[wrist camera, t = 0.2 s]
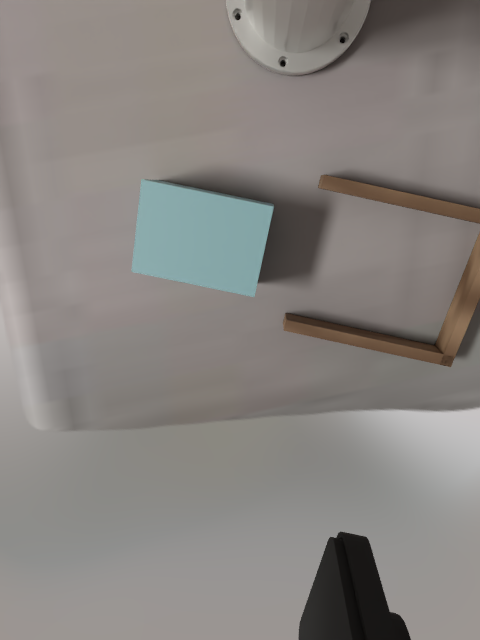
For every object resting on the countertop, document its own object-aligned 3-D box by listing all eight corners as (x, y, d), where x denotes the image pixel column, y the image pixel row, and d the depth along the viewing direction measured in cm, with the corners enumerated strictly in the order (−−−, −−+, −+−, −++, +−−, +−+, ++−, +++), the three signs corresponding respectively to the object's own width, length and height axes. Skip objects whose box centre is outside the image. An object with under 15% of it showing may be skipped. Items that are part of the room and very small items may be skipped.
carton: (158, 180, 41) (141, 179, 36) (272, 203, 41) (273, 206, 36) (149, 260, 44) (131, 271, 38) (256, 282, 44) (254, 297, 38)
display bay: (321, 175, 40) (324, 174, 37) (499, 214, 40) (514, 216, 38) (283, 322, 45) (283, 330, 43) (441, 357, 45) (450, 366, 43)
